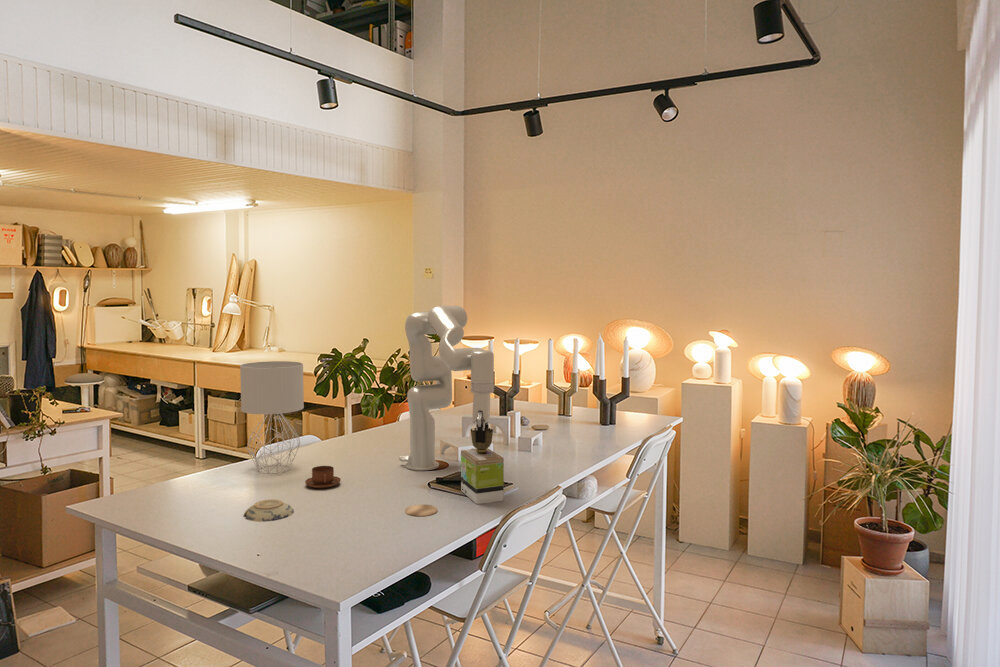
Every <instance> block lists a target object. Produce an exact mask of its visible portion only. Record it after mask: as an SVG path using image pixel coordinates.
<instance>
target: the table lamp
mask: <svg viewBox="0 0 1000 667" xmlns="http://www.w3.org/2000/svg"><path fill="white" fill-rule="evenodd" d="M239 368H240V370H239V371H240V411H241V412H242V413H245V414H250V415H263V416H262V418H261V420H260V421H259V422H258V423H257V425H256V427H254V429H253V431H252V432H251V434H250V437H249V439H248V441H247V446H246V449H247V450H246V451H247V452H248V453H249V456H250V459H251V460H252V461H253V464H254V465H255V467H256V469H257V471H258V472H259V473H262V474H265V472H266V474H269V475H270V474H271V471H272V470H273V468H274V467H276V470H279V469H278V468H279V467H281V469H282V470H283V471H280V472H278V471H277V474H279V473H286V472H287V471H289V470H290V469H291V467H292V465H293V463H294V460H295V458H296V457H297V456H296V455H297V453H298V451H299V448H300V445H301V440H300V437H299V434H298V433H297V431H296V429H295V427H294V426H293V425H292V424H291V423H290V421H289V420H288V419H287V418H286V417H285V415H284V414H288V413H289V414H291V413H294V412H299V411H302V410H304V408H305V405H304V403H305V402H304V399H305V397H304V393H305V392H304V363H303V362H299V361H289V360H285V361H284V360H282V361H281V360H280V361H279V360H278V361H277V360H273V361H257V362H256V361H255V362H246V363H242V364H240V366H239ZM268 415H269V420H268V423H267V427H266V431H264V432H263V433H261V431H262V430H261V429H262V428H263V426H264V423H265V421H266V419H267V417H268ZM273 416H276V417H274V423H275V425H277V420H278V422H279V425H280V429H281V432H279V431H278V429H277V426H275V429H274V428H272V424H270V422H272V420H273ZM281 417H282V419H283V420H284V422H285V423H286V425H287V426H288V430H287V429H286V427H285V425H284V422H283V420H282V419H281ZM276 418H277V420H276ZM262 420H263V421H262ZM261 422H262V423H261ZM281 423H282V424H281ZM260 424H261V426H260V427H259V425H260ZM269 425H270V427H269ZM257 427H259V429H258V430H257V432H255V430H256V429H257ZM282 427H283V428H284V431H285V432H283V428H282ZM271 430H273V431H274V432H276V434H279V435H282V436H284V435H285V434H287V438H288V440H286V439H284V438H283V437H281V436H279V435H276V436H275V437H273V438H272V439H270V440H269V441H268V442H267V443H266V441H264V442H262V440H261V439H260V437H261V436H263V434H265V435H264V436H265V437H264V440H266V438H267V432H268V431H269V435H271V434H272V433H271ZM288 431H290V432H291V435H292V436H291V438H290V437H289V434H288ZM253 435H255V436H254V437H253ZM294 436H295V437H294ZM256 438H257V440H258V441H257V444H256V446H255V449H254V448H251V441H253V443H252V447H254V444H255V442H256ZM275 438H276V440H277V441H276V442H277V445H276V446H274V448H272V447H271V445H272V444H271V442H272V441H273V440H274V439H275ZM279 438H280V439H281V442H279ZM295 438H296V441H297V442H298V443H297V445H296V446H295V445H294V444H295V442H293V443H292V439H293V440H295ZM253 439H254V440H253ZM281 443H282V447H281V450H283V448H284V445H285V446H286V447H287V448H288V451H287V452H286V453H284V454H283V451H281V453H280V457H279V458H277V457H275V455H274V454H273V452H272V451H273V450H274V449H276V448H278V447H279V446H280V444H281ZM287 443H288V444H289V446H288V445H287ZM291 443H292V444H291ZM268 444H269V447H270V448H267V447H265V446H267V445H268ZM291 445H292V446H291ZM260 446H261V447H263V449H267V451H269V454H268V453H267V452H266V451H261V448H260ZM294 446H295V447H294ZM257 447H258V449H259V453H260V455H259V456H258V458H257V457H256V455H255V453H256V450H257ZM296 448H297V450H296V451H295V454H294V452H293V451H294V450H295V449H296ZM277 454H279V449H277ZM282 454H283V455H282ZM262 455H264V459H263V456H262ZM266 455H267V456H268V457H267V459H266ZM286 455H287V456H286ZM292 455H293V457H292ZM284 456H286V457H285V458H284V459H283V457H284ZM260 457H261V460H262V462H261V460H259V458H260ZM269 457H270V460H271V463H273V459H274V460H275V461H276V462H275V463H274V465H273V464H271V465H268V464H267V463H268V461H269ZM291 458H292V459H291ZM282 459H283V461H282ZM286 459H287V461H286V464H285V466H284V465H282V464H283V463H284V462H285V460H286ZM264 460H265V462H264ZM279 461H280V462H279ZM270 467H272V468H271V469H270V470H269V468H270ZM262 469H263V470H265V472H263V471H262Z"/></svg>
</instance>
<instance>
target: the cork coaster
mask: <svg viewBox="0 0 1000 667" xmlns="http://www.w3.org/2000/svg"><path fill="white" fill-rule="evenodd" d="M404 511H405V514H406V515H408V516H413V517H428V516H432V515H434V514H437V512H438V507H437V506H435V505H432V504H425V503H424V504H413V505H409V506H407V507H406V508H405V510H404Z"/></svg>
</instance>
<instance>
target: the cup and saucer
mask: <svg viewBox="0 0 1000 667" xmlns="http://www.w3.org/2000/svg"><path fill="white" fill-rule="evenodd" d="M334 468H335V467H333V466H331V465H318V466H314V467H312V469H311V476H312V477H309V478H307V479H305V481H304V482H305V485H307V486H308V487H310V488H313V489H314V488H315V489H327V488H328V489H329V488H331V487H332V488H333V487H335V486H337V485H339V484H340V482H341V481H342V480H341V478H340V477H338V476H336V475H335V474H334V473H335V472H334V471H335V470H334ZM334 475H335V476H334Z"/></svg>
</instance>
